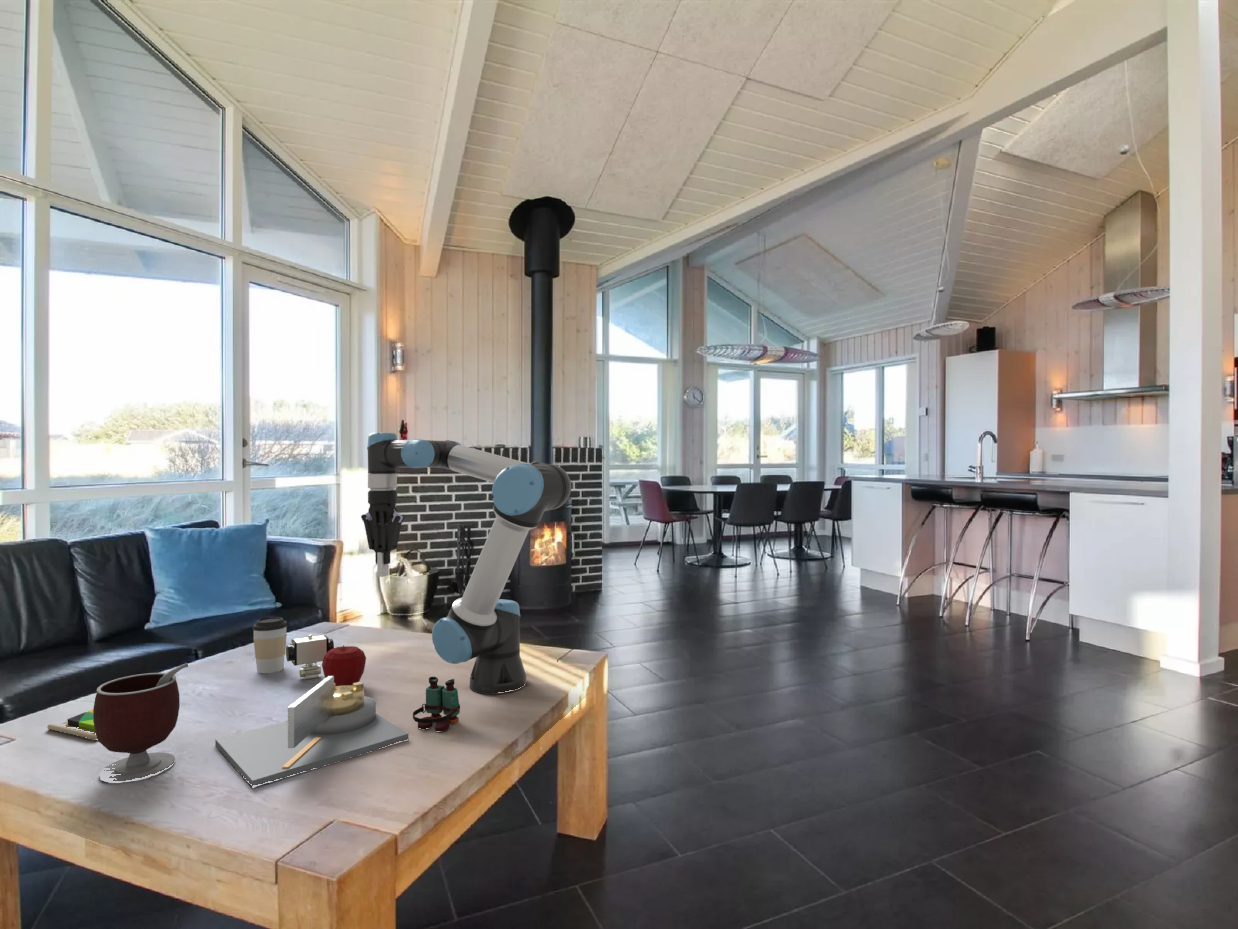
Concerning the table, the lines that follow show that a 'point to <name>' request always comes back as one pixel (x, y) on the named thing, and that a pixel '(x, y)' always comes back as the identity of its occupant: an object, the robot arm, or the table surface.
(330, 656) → the apple
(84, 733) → the wooden puzzle
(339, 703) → the two-tone lugged fixture
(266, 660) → the coffee cup
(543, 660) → the table surface
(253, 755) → the grey flat slab
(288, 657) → the pneumatic valve
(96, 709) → the mate gourd
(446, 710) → the binoculars
